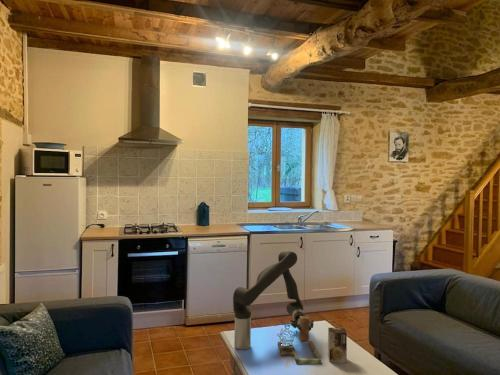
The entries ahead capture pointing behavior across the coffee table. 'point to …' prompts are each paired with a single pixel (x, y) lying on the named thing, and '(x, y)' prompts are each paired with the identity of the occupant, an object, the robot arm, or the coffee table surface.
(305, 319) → the walnut block
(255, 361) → the coffee table surface
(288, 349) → the trap lane
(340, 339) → the coffee box
